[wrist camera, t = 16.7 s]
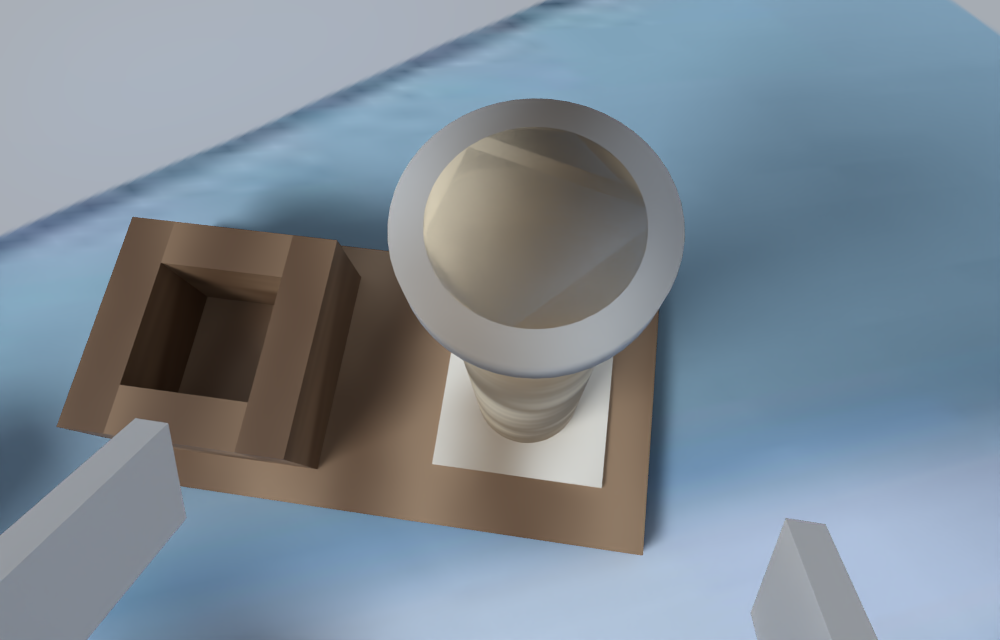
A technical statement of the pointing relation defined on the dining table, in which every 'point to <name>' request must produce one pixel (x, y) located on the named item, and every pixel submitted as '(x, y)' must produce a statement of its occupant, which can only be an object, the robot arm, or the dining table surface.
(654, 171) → the capped plug
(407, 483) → the socket board
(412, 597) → the dining table surface
